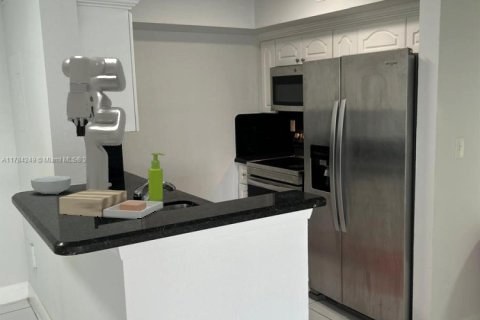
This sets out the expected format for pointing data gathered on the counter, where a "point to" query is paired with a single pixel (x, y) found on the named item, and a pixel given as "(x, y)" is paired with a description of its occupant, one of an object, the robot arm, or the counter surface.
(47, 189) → the cereal bowl
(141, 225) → the counter surface
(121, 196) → the birch board
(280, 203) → the counter surface
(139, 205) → the terracotta tile
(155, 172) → the soap dispenser
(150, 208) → the box
